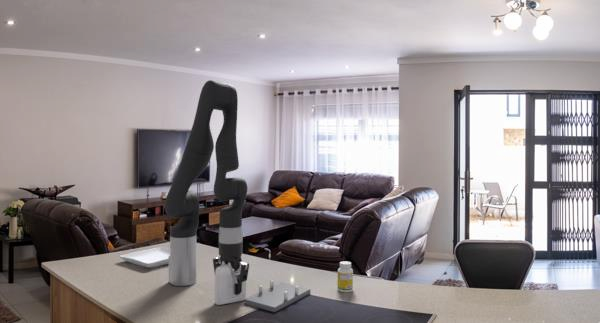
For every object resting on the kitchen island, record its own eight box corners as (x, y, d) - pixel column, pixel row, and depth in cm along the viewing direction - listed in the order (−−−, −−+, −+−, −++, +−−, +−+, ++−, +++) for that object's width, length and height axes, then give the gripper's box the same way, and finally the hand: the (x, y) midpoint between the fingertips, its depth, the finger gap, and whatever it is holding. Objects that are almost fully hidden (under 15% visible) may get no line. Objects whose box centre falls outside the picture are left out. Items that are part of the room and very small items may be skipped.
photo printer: (242, 296, 142) (242, 259, 142) (248, 300, 139) (248, 262, 138) (212, 302, 137) (212, 264, 136) (218, 306, 133) (218, 267, 133)
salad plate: (160, 253, 199) (160, 245, 199) (190, 260, 186) (190, 252, 186) (118, 263, 182) (118, 255, 182) (148, 272, 169) (148, 263, 169)
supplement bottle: (350, 293, 146) (350, 265, 146) (335, 291, 148) (335, 263, 148) (354, 288, 151) (354, 261, 151) (339, 286, 153) (340, 259, 153)
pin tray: (244, 303, 136) (244, 291, 136) (281, 286, 152) (282, 275, 152) (274, 312, 129) (274, 299, 129) (310, 293, 146) (310, 281, 146)
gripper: (255, 241, 136) (255, 293, 137) (222, 235, 144) (222, 284, 145) (239, 245, 130) (239, 300, 131) (206, 239, 138) (206, 291, 139)
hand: (230, 292), depth 138 cm, fingers closed on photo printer, 5 cm apart
